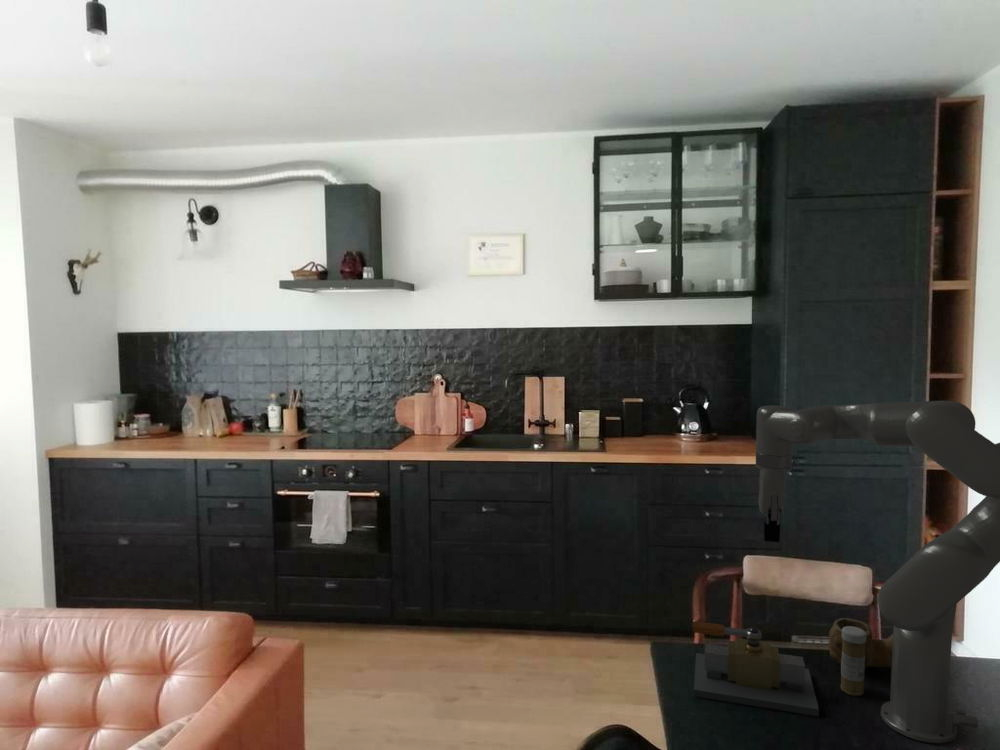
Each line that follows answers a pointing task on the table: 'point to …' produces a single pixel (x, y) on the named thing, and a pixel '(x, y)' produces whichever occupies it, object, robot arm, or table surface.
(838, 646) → the pipe
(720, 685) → the valve board
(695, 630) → the lever
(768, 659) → the valve
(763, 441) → the robot arm
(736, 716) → the table surface
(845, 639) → the sprinkles bottle
